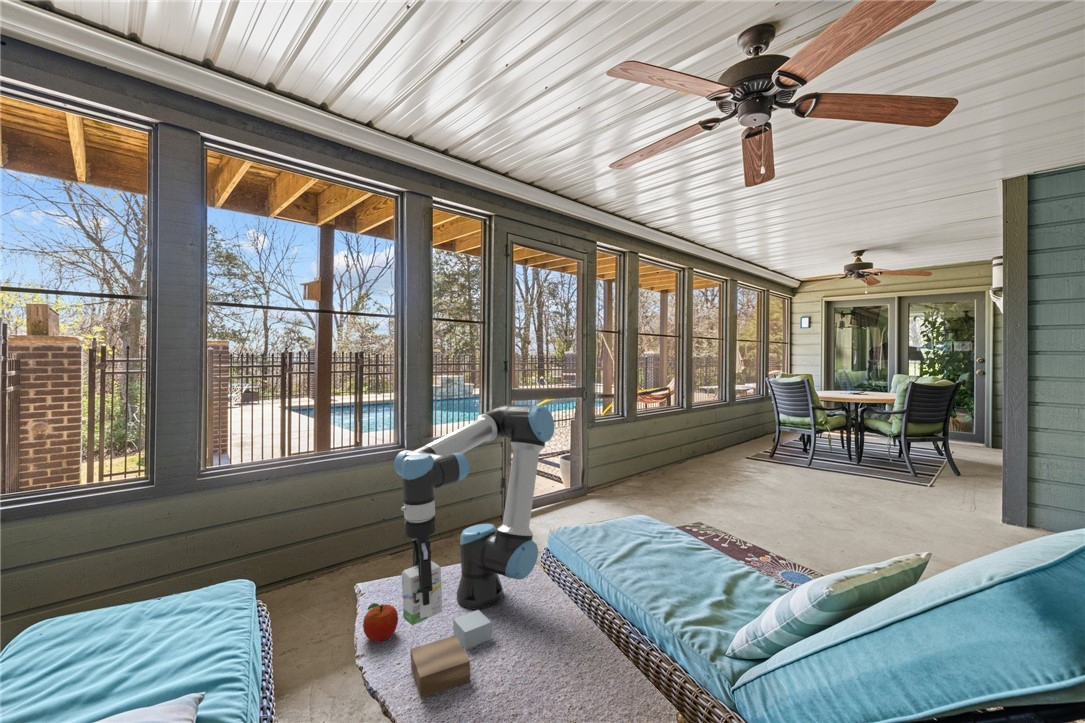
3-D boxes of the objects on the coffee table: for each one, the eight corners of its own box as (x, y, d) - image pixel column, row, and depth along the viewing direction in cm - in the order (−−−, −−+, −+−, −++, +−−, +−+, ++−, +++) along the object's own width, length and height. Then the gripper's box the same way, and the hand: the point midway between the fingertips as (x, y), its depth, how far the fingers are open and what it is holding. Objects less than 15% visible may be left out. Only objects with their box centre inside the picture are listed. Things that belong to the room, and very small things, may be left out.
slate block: (453, 636, 131) (453, 618, 131) (478, 626, 135) (478, 609, 135) (465, 650, 124) (465, 632, 124) (491, 639, 129) (491, 622, 129)
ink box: (412, 626, 110) (410, 577, 110) (402, 618, 113) (400, 571, 113) (443, 611, 116) (441, 565, 115) (433, 604, 119) (431, 559, 119)
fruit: (402, 639, 129) (401, 604, 129) (366, 651, 124) (365, 615, 124) (394, 623, 138) (393, 590, 138) (360, 634, 133) (359, 600, 133)
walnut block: (411, 668, 117) (410, 649, 117) (456, 653, 123) (456, 635, 122) (420, 699, 106) (420, 677, 106) (470, 681, 112) (469, 661, 112)
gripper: (399, 509, 121) (402, 595, 122) (410, 533, 104) (414, 634, 104) (427, 504, 124) (431, 588, 125) (443, 527, 107) (446, 625, 107)
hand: (423, 609), depth 115 cm, fingers closed on ink box, 6 cm apart
